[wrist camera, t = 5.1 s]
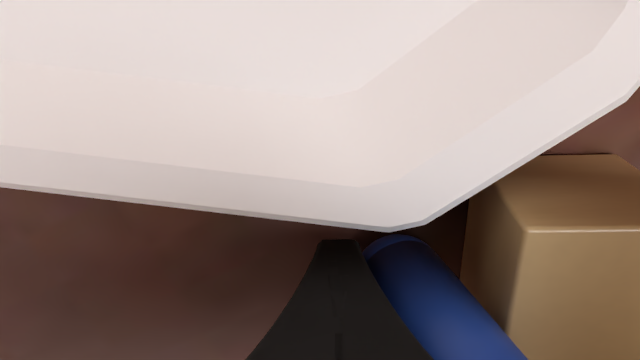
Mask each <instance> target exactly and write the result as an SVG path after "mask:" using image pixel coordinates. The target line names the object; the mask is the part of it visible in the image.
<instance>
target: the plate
mask: <svg viewBox="0 0 640 360" xmlns="http://www.w3.org/2000/svg"><path fill="white" fill-rule="evenodd" d="M639 86H640V0H0V187H3V188H11V189H20V190H29V191H37V192H46V193H54V194H63V195H71V196H80V197H88V198H97V199H106V200H114V201H123V202H131V203H140V204H148V205H157V206H165V207H174V208H182V209H191V210H200V211H208V212H217V213H225V214H234V215H242V216H251V217H259V218H268V219H276V220H285V221H294V222H302V223H311V224H319V225H328V226H336V227H345V228H353V229H362V230H370V231H379V232H388V233H389V232H394V231H399V230H403V229H408V228H412V227H417V226H422V225H426V224H427V223H429V222H431V221H432V220H434V219H436V218H437V217H439V216H441V215H442V214H444V213H445V212H447V211H449V210H450V209H452V208H454V207H455V206H457V205H458V204H460V203H462V202H463V201H465V200H467V199H468V198H470V197H471V196H473V195H475V194H476V193H478V192H480V191H481V190H483V189H485V188H486V187H488V186H489V185H491V184H493V183H494V182H496V181H498V180H499V179H501V178H502V177H504V176H506V175H507V174H509V173H511V172H512V171H514V170H515V169H517V168H519V167H520V166H522V165H524V164H525V163H527V162H528V161H530V160H532V159H533V158H535V157H537V156H538V155H540V154H542V153H543V152H545V151H546V150H548V149H550V148H551V147H553V146H555V145H556V144H558V143H559V142H561V141H563V140H564V139H566V138H568V137H569V136H571V135H572V134H574V133H576V132H577V131H579V130H581V129H582V128H584V127H586V126H587V125H589V124H590V123H592V122H594V121H595V120H597V119H599V118H600V117H602V116H603V115H605V114H607V113H608V112H610V111H612V110H613V109H615V108H616V107H618V106H620V105H621V104H623V103H625V102H626V101H627V100H628V99H629V98H630V97H631V95H632V94H633V93H634V92H635V91H636V90H637V89H638V87H639Z"/></svg>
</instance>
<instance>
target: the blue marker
mask: <svg viewBox="0 0 640 360" xmlns="http://www.w3.org/2000/svg"><path fill="white" fill-rule="evenodd" d="M362 254H363V256H364V258H365V260H366V262H367V264H368V266H369V268H370V270H371V272H372V274H373V276H374V278H375V279H376V281H377V283H378V284H379V286H380V288H381V289H382V291H383V292H384V294H385V296H386V297H387V299H388V300H389V302H390V304H391V305H392V306H393V308H394V309H395V311H396V312H397V314H398V315H399V316H400V318H401V319H402V321H403V322H404V323H405V325H406V326H407V327H408V329H409V330H410V331H411V333H412V334H413V335H414V336H415V338H416V339H417V340H418V341H419V343H420V344H421V345H422V346H423V347H424V349H425V350H426V351H427V352H428V353H429V354H430V356H431V357H432V358H433V359H434V360H528V359H527V358H526V356H525V355H524V354H523V353H522V352H521V351H520V349H519V348H518V347H517V346H516V345H515V344H514V342H513V341H512V340H511V339H510V338H509V337H508V336H507V334H506V333H505V332H504V331H503V330H502V329H501V327H500V326H499V325H498V324H497V323H496V322H495V320H494V319H493V318H492V317H491V316H490V315H489V313H488V312H487V311H486V310H485V309H484V308H483V307H482V305H481V304H480V303H479V302H478V301H477V300H476V298H475V297H474V296H473V295H472V294H471V293H470V291H469V290H468V289H467V288H466V287H465V286H464V285H463V283H462V282H461V281H460V280H459V279H458V278H457V276H456V275H455V274H454V273H453V272H452V271H451V269H450V268H449V267H448V266H447V265H446V264H445V262H444V261H443V260H442V259H441V258H440V257H439V256H438V254H437V253H436V252H435V251H434V250H433V249H432V248H431V247H430V246H429V245H428V244H426V243H425V242H423V241H422V240H420V239H418V238H416V237H413V236H410V235H402V234H392V235H387V236H383V237H381V238H379V239H377V240H375V241H374V242H372V243H371V244H370V245H369V246H367V247H366V248H365V249H364V251H363V252H362Z"/></svg>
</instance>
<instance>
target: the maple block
mask: <svg viewBox="0 0 640 360" xmlns="http://www.w3.org/2000/svg"><path fill="white" fill-rule="evenodd" d="M460 281H461V282H462V283H463V285H464V286H465V287H466V288H467V289H468V290H469V291H470V293H471V294H472V295H473V296H474V297H475V298H476V300H477V301H478V302H479V303H480V304H481V305H482V307H483V308H484V309H485V310H486V311H487V312H488V313H489V315H490V316H491V317H492V318H493V319H494V320H495V322H496V323H497V324H498V325H499V326H500V327H501V329H502V330H503V331H504V332H505V333H506V334H507V336H508V337H509V338H510V339H511V340H512V341H513V342H514V344H515V345H516V346H517V347H518V348H519V349H520V351H521V352H522V353H523V354H524V355H525V356H526V358H527V359H528V360H640V171H639V170H638V169H636V168H635V167H634V166H632V165H631V164H629V163H628V162H626V161H625V160H623V159H622V158H621V157H619V156H618V155H615V154H604V155H549V156H537V157H535V158H533V159H532V160H530V161H528V162H527V163H525V164H524V165H522V166H520V167H519V168H517V169H515V170H514V171H512V172H511V173H509V174H507V175H506V176H504V177H502V178H501V179H499V180H498V181H496V182H494V183H493V184H491V185H489V186H488V187H486V188H485V189H483V190H481V191H480V192H478V193H476V194H475V195H473V196H471V197H470V198H469V206H468V214H467V223H466V231H465V240H464V248H463V256H462V265H461V273H460Z"/></svg>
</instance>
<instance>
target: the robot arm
mask: <svg viewBox="0 0 640 360" xmlns="http://www.w3.org/2000/svg"><path fill="white" fill-rule="evenodd" d="M246 360H434V359H433V358H432V357H431V356H430V354H429V353H428V352H427V351H426V350H425V349H424V347H423V346H422V345H421V344H420V343H419V341H418V340H417V339H416V338H415V336H414V335H413V334H412V333H411V331H410V330H409V329H408V327H407V326H406V325H405V323H404V322H403V321H402V319H401V318H400V316H399V315H398V314H397V312H396V311H395V309H394V308H393V306H392V305H391V304H390V302H389V300H388V299H387V297H386V296H385V294H384V292H383V291H382V289H381V288H380V286H379V284H378V283H377V281H376V279H375V278H374V276H373V274H372V272H371V270H370V268H369V266H368V264H367V262H366V260H365V258H364V256H363V254H362V251H361V248H360V245H359V243H358V242H357V241H356V240H355V239H336V240H322V241H321V242H320V243H319V244H318V245H317V249H316V252H315V254H314V257H313V259H312V261H311V263H310V265H309V267H308V269H307V271H306V273H305V275H304V277H303V279H302V280H301V282H300V284H299V286H298V287H297V289H296V291H295V293H294V294H293V296H292V298H291V299H290V301H289V302H288V304H287V305H286V307H285V308H284V310H283V311H282V313H281V314H280V316H279V317H278V318H277V320H276V321H275V323H274V324H273V326H272V327H271V329H270V330H269V331H268V332H267V334H266V335H265V336H264V338H263V339H262V340H261V342H260V343H259V344H258V345H257V347H256V348H255V349H254V350H253V351H252V353H251V354H250V355H249V356H248V357H247V358H246Z"/></svg>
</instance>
